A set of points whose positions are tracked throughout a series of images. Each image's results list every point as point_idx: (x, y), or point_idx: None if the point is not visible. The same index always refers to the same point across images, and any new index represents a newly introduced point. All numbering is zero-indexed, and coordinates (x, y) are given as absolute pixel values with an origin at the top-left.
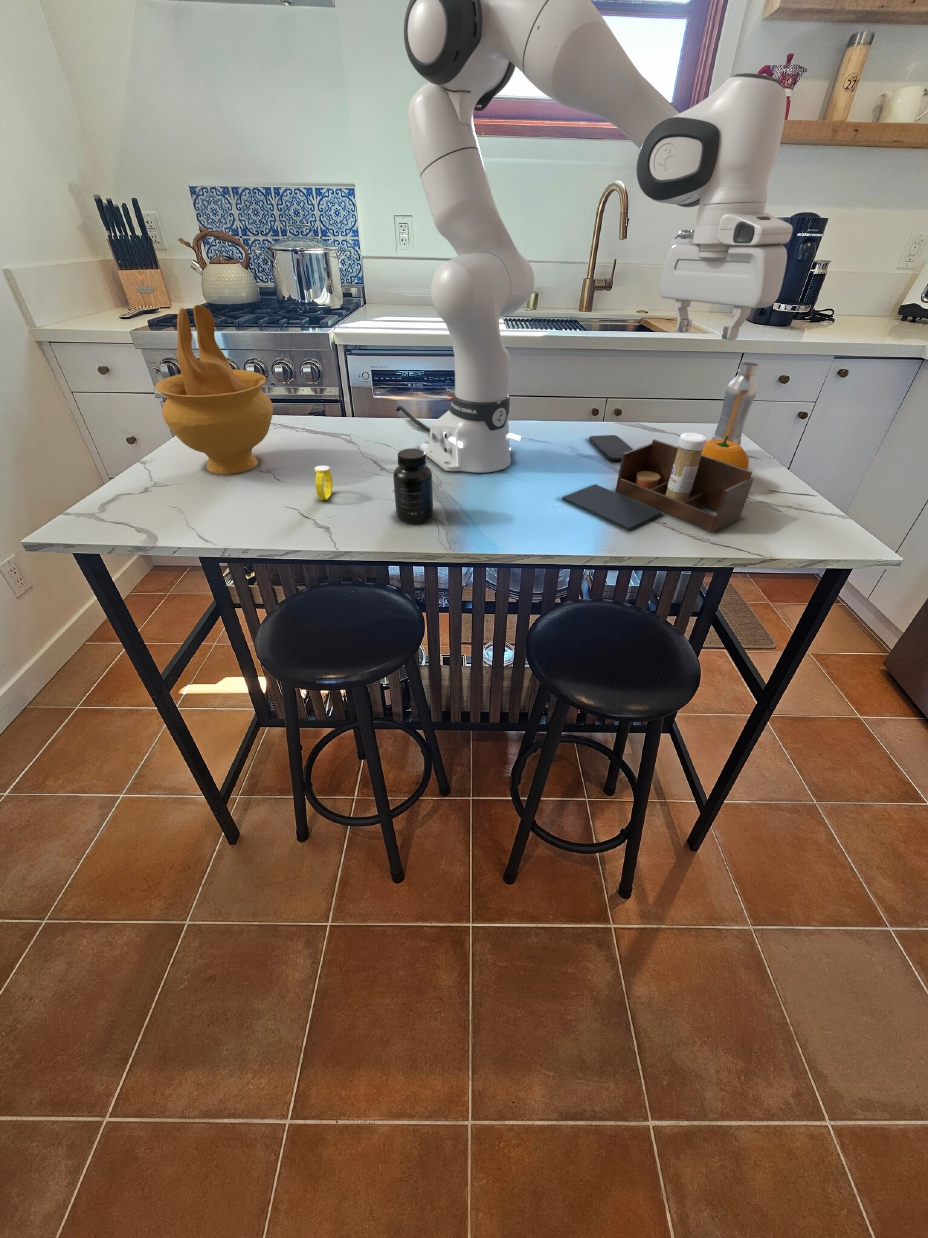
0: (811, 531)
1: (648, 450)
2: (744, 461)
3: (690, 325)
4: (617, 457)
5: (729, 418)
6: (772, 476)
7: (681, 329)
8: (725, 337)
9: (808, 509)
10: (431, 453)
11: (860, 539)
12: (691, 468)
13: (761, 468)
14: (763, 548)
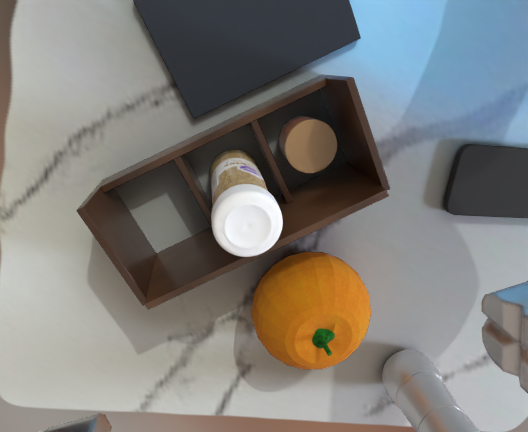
0: (90, 346)
1: (373, 174)
2: (268, 348)
3: (517, 375)
4: (461, 160)
5: (432, 413)
6: (299, 399)
7: (509, 293)
8: (58, 428)
9: (169, 384)
10: None
11: (55, 398)
12: (212, 197)
13: (333, 399)
14: (34, 236)
